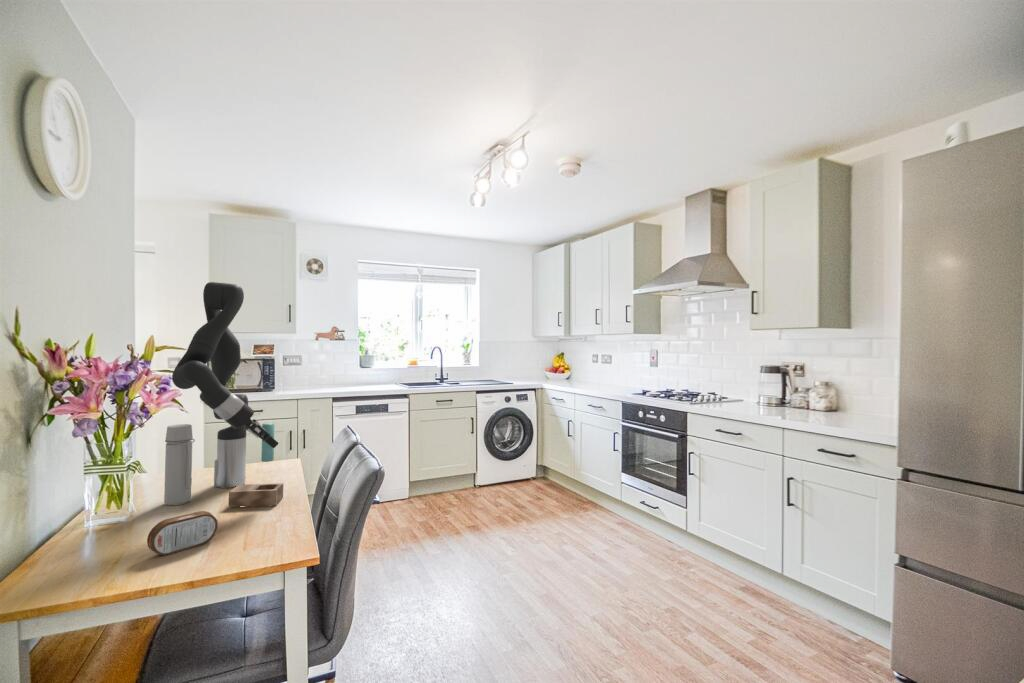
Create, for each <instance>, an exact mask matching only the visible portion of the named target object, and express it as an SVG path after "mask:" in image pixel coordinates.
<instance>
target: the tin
mask: <svg viewBox="0 0 1024 683" xmlns="http://www.w3.org/2000/svg"><path fill="white" fill-rule="evenodd" d="M218 525H219V524H218V519H217V518H216V516H214V515H213V514H212V513H211V512H209V511H206V510H201V511H196V512H195V511H194V512H191V513H187V514H183V515H179V516H174V517H169V518H165V519H163V520H160V522H158V523H157V524H155V525H154V526H153V527H152V528H151V530H150V531H149V532H148V536H147V539H146V543H147V547H148V548H149V549H150V551H152V552H154V553H155V554H157V555H161V556H167V555H166V554H168V555H171V553H172V554H175V553H178V551H179V552H181V551H185V549H186V550H189V549H192V548H196V547H200V546H203V545H205V544H207V543H208V542H209V541H210V540H212V538H213V537H214V536H215V535H216V533H217V531H218ZM174 552H175V553H174Z"/></svg>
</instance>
